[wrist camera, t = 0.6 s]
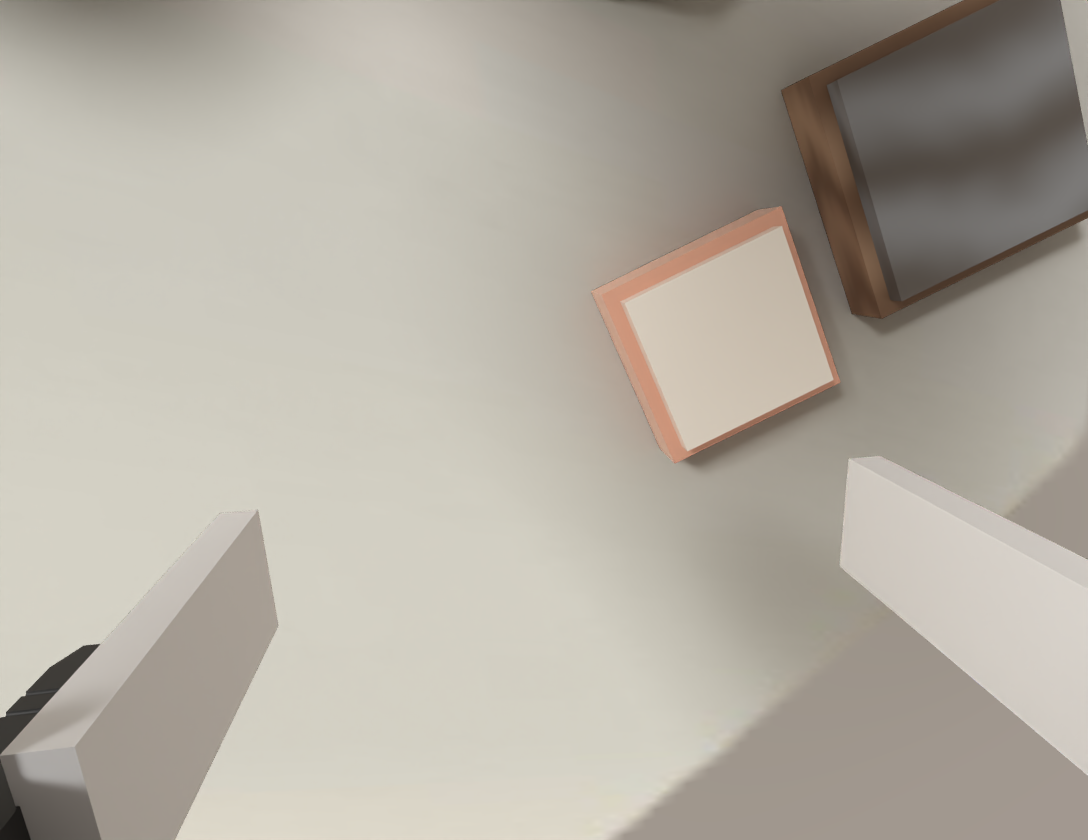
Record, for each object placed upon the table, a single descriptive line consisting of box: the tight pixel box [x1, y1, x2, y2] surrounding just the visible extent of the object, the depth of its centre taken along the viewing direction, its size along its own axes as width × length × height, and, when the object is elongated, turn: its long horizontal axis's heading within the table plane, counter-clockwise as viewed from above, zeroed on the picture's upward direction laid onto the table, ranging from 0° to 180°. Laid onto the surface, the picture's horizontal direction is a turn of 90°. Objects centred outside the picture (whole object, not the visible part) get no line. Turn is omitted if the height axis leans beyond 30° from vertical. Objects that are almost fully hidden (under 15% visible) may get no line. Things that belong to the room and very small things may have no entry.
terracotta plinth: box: [591, 206, 840, 463], centre depth 38 cm, size 11×11×4 cm
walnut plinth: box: [781, 0, 1088, 319], centre depth 37 cm, size 14×14×4 cm
